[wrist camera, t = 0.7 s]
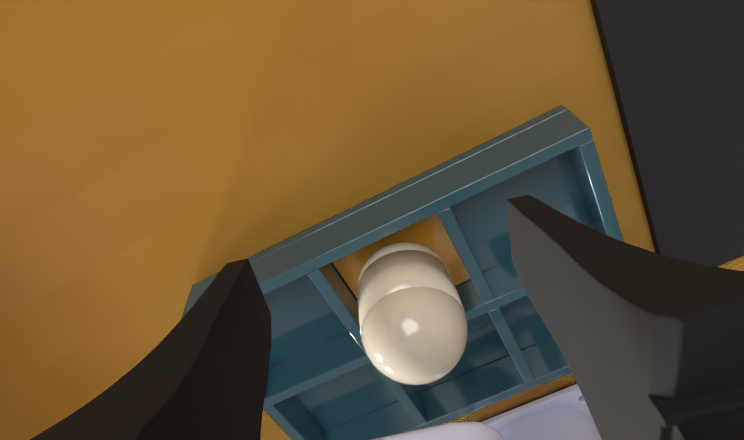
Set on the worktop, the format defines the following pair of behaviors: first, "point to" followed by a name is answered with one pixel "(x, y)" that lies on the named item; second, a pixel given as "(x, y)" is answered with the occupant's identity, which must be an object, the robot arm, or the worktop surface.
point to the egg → (410, 314)
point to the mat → (682, 118)
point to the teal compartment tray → (469, 272)
